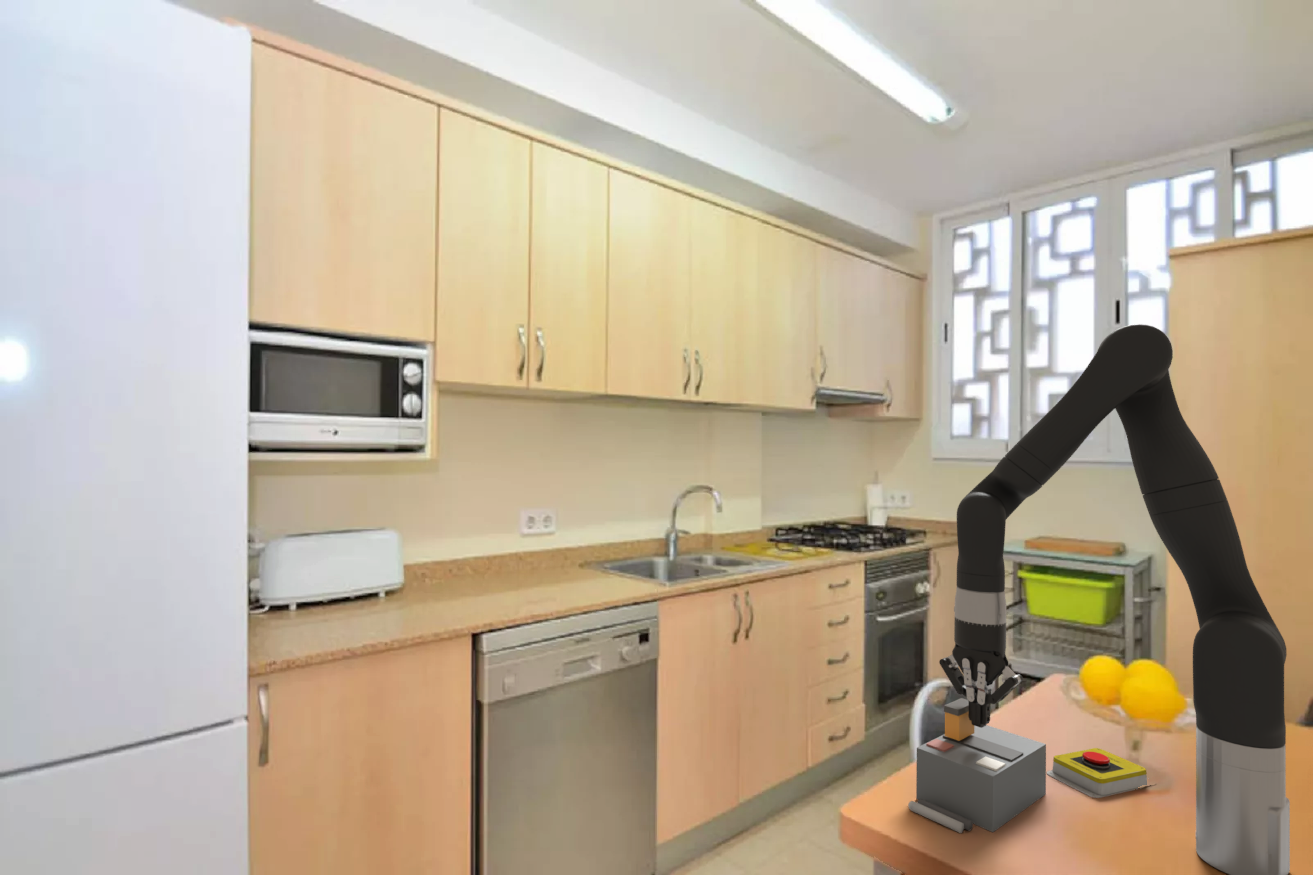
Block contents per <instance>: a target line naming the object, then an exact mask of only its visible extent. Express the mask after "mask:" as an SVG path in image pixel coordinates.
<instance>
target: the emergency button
mask: <svg viewBox="0 0 1313 875" xmlns="http://www.w3.org/2000/svg"><path fill="white" fill-rule="evenodd" d="M1052 761H1053V762H1052V769H1051V770H1046V776H1049V777H1051V778H1053V779H1055V780H1057V781H1059V782H1060V783H1062V784H1064V785H1067V786H1068V787H1070V788H1072V789H1075V790H1077V791H1079V792H1080V793H1082V794H1084V795H1085V796H1087V797H1091V798H1095V799H1100V798H1104V797H1109V796H1113V795H1117V794H1122V793H1127V792H1132V791H1135V789H1136V790H1139V789H1138V787H1140V786H1142V785H1147V778H1148V776H1147V774H1148V773H1147V769H1146V768H1145V767H1143V766H1142V765H1139V764H1138V763H1134V762H1132V761H1130V760H1128V759H1125V758H1123V757H1121V756H1118V755H1116V754H1114V753H1111V752H1109V751H1107V750H1105V749H1102V748H1099V747H1093V748H1088V749H1083V750H1078V751H1071V752H1067V753H1061V754H1057V755H1054V756H1053V760H1052Z"/></svg>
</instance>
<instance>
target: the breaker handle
mask: <svg viewBox="0 0 1313 875" xmlns="http://www.w3.org/2000/svg"><path fill="white" fill-rule="evenodd" d="M943 712H944V734H945V736H947V737H949V738H952V739H955V740H958V741H960V740H962V739H964V738H966V737H968V736H970V735H972V734H974V725H972V723H971V720H969V717H968V713H969V701H968V699H967V698H963V697H960V698H958V699H956V700H953V701H950V702H949V703H946V704H944V705H943Z"/></svg>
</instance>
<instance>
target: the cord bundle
mask: <svg viewBox="0 0 1313 875" xmlns="http://www.w3.org/2000/svg"><path fill="white" fill-rule="evenodd" d="M907 807H908V808H909V810H910V811H912V812H913V813H915V814H917V815H920V816H922V817H924V818H927V819H929V820H931V821H932V822H935V823H937V824H939V825H941V826H944V827H946V828H948V829H951V830H952V831H955V832H957V833H959V834H962V833H964V830H966V831H968V832H971V830H972V829H973V826H974V824H973V822H972V821H971V820H969V819H966V818H964V817H962V816H959V815H957V814H955V813H953V812H950V811H948V810H946V809H943V808H941V807H939V806H937V805H934V804H932V803H930V802H927V801H925V800H923V799H919V800H918V799H917V801H914V800H910V801H909V802H908V806H907Z"/></svg>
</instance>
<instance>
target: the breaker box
mask: <svg viewBox="0 0 1313 875" xmlns="http://www.w3.org/2000/svg"><path fill="white" fill-rule="evenodd" d="M1046 779H1047V744H1046V743H1044V742H1041V741H1037V740H1034V739H1032V738H1028V737H1025V736H1022V735H1019V734H1015V733H1013V732H1009V731H1007V730H1003V729H1000V728H997V727H995V726H994V727H993V726H991V725H988V724H986V726H984V727H982V728H980V727H977V726H974V734H972V735H970V736H968V737H966V738H964V739H962V740H960V741H958V740H955V739H952V738H949V737H947V736H945V733H943V734H942V735H940V736H938V737H936V738H934V739H932V740H929V741H928V742H925V743H923V744H921V745H918V746H917V747H916V779H915V780H916V783H915V784H916V786H915V787H916V796H915V798H916V799H917V801H918V800H919V799H923V800H925V801H927V802H930V803H932V804H934V805H937V806H939V807H941V808H943V809H946V810H948V811H950V812H953V813H955V814H957V815H959V816H962V817H964V818H966V819H969V820H971V821H972V822H973V825H975V826H977V827H980V828H982V829H984V830H986V831H989V832H991V833H994V832H996V831H997V830H998V829H1000V828H1001V827H1002V826H1004V825H1005V824H1006V823H1008V822H1009V821H1011V820H1012V819H1014V818H1015V817H1017V816H1018V815H1019V814H1021V813H1022V812H1023V811H1024V810H1026V809H1027V808H1029V807H1030V806H1032V804H1034V803H1036V802H1037V801H1039V800H1040V799H1041V798H1042V797H1044V796H1046V795H1047V794H1046V793H1047V780H1046Z"/></svg>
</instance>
